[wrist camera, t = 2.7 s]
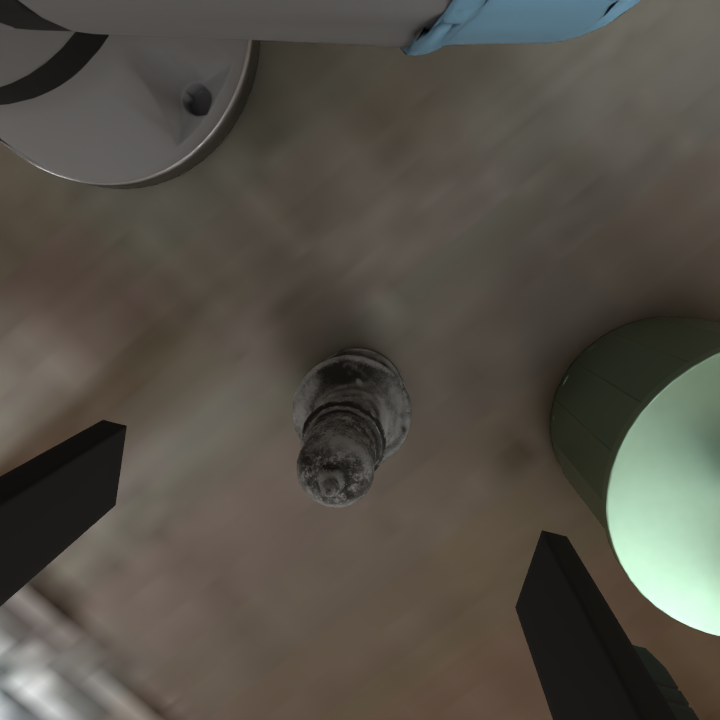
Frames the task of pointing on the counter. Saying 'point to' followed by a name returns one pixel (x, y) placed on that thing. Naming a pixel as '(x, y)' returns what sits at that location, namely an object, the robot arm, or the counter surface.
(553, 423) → the pot
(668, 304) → the counter surface
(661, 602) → the pot lid
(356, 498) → the dark grey tall piece
